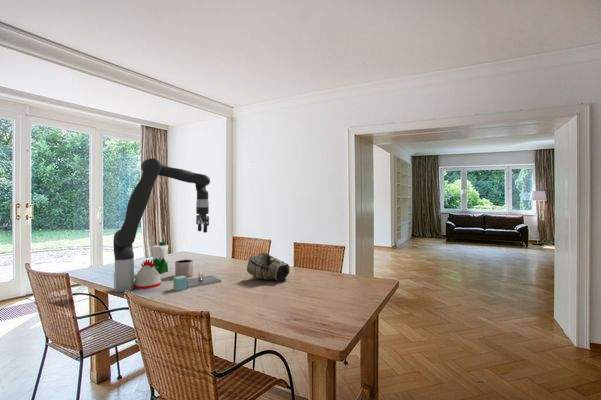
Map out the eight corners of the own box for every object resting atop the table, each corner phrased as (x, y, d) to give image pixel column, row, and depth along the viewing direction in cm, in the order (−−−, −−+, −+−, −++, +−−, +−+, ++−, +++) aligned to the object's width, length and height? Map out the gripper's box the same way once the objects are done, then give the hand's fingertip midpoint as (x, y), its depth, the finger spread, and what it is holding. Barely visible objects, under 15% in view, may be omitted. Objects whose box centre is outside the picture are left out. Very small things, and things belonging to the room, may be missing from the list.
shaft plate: (188, 288, 176) (188, 277, 176) (179, 282, 187) (179, 273, 187) (221, 281, 189) (221, 272, 189) (211, 277, 200) (211, 268, 199)
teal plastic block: (176, 291, 170) (176, 278, 170) (173, 288, 174) (173, 276, 174) (187, 289, 174) (187, 277, 174) (183, 286, 178) (183, 275, 178)
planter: (181, 279, 195) (181, 263, 195) (171, 276, 201) (171, 261, 201) (196, 275, 203) (196, 260, 203) (186, 273, 210) (186, 258, 210)
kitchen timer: (150, 289, 173) (149, 262, 172) (128, 288, 175) (128, 261, 175) (165, 283, 186) (165, 257, 186) (145, 281, 189) (145, 256, 189)
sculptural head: (296, 258, 198) (267, 249, 213) (275, 256, 181) (245, 247, 196) (290, 285, 197) (262, 274, 212) (269, 286, 180) (239, 274, 195)
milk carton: (170, 271, 215) (170, 242, 215) (160, 274, 206) (160, 244, 206) (159, 270, 217) (159, 241, 217) (149, 273, 209) (149, 243, 209)
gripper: (192, 206, 203) (192, 231, 203) (201, 206, 192) (201, 233, 193) (203, 206, 208) (203, 230, 208) (212, 206, 197) (212, 232, 197)
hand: (202, 231), depth 200 cm, fingers open, 8 cm apart
